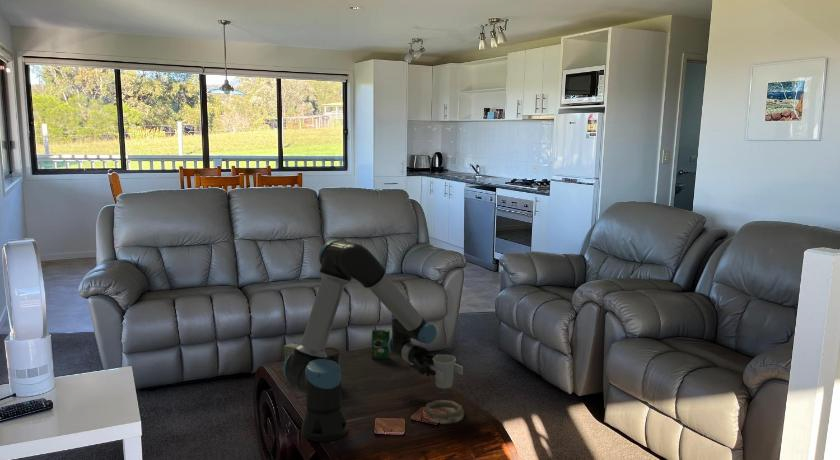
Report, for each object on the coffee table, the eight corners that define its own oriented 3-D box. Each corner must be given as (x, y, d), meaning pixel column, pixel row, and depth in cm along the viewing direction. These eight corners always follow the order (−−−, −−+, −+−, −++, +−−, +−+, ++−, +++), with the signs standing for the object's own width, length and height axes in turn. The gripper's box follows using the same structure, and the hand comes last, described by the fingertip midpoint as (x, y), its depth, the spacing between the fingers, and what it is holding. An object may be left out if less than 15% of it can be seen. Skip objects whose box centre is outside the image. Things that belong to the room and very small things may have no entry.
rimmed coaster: (438, 427, 205) (438, 421, 205) (414, 411, 217) (414, 405, 217) (472, 416, 213) (472, 410, 213) (447, 402, 226) (447, 395, 225)
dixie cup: (453, 391, 209) (454, 363, 208) (430, 389, 211) (430, 361, 209) (457, 381, 217) (457, 355, 216) (434, 379, 219) (434, 353, 217)
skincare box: (302, 372, 254) (302, 345, 252) (295, 376, 250) (294, 347, 248) (291, 369, 257) (290, 342, 255) (284, 373, 254) (283, 345, 252)
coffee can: (334, 391, 235) (333, 357, 233) (310, 389, 237) (309, 354, 235) (343, 381, 244) (343, 348, 243) (320, 379, 247) (319, 346, 245)
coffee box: (390, 357, 273) (390, 329, 272) (389, 359, 271) (389, 331, 269) (372, 356, 274) (372, 328, 272) (371, 358, 271) (371, 330, 269)
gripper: (437, 358, 234) (475, 377, 216) (392, 369, 222) (427, 390, 204) (437, 340, 233) (475, 357, 215) (392, 350, 221) (428, 369, 203)
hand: (452, 373), depth 209 cm, fingers closed on dixie cup, 8 cm apart
